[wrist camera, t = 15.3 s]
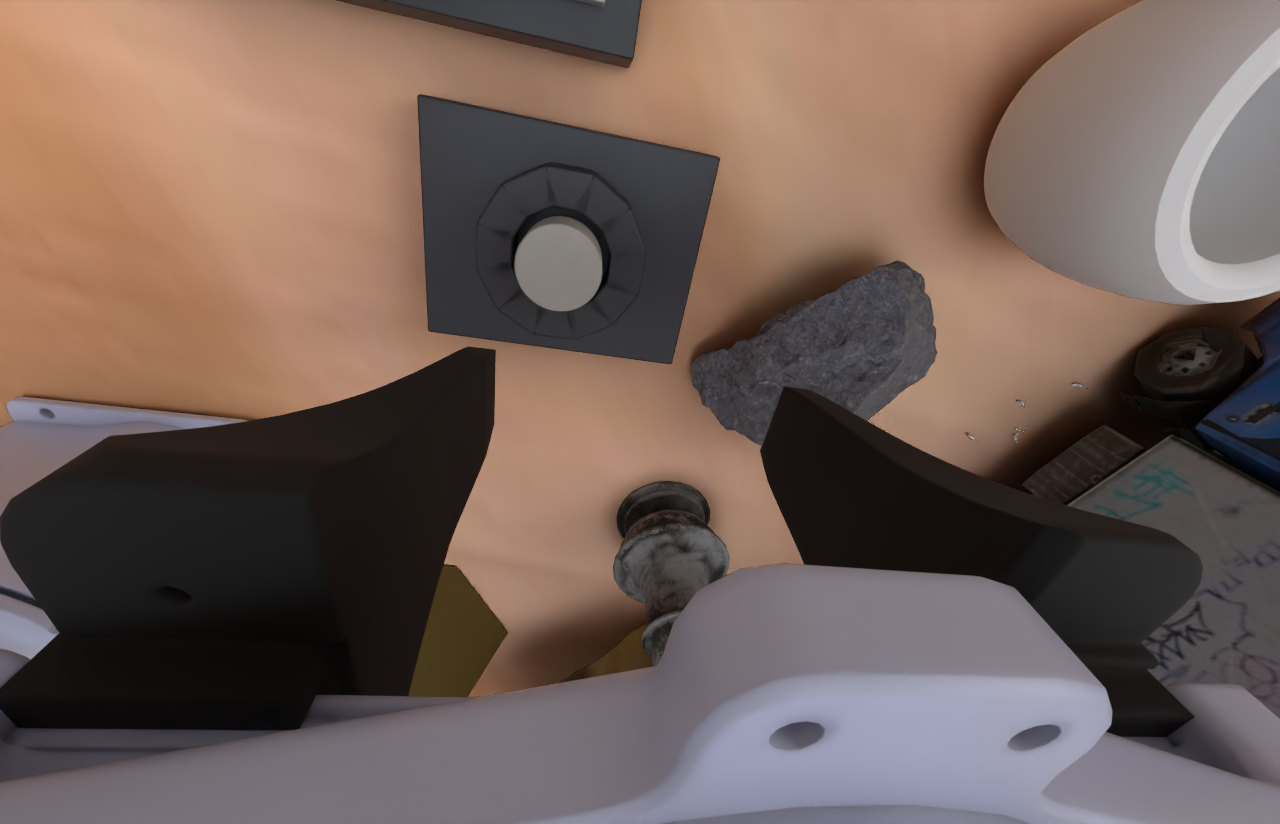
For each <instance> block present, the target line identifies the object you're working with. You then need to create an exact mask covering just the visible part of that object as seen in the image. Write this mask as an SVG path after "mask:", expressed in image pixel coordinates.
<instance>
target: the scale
mask: <svg viewBox="0 0 1280 824" xmlns="http://www.w3.org/2000/svg"><path fill="white" fill-rule="evenodd" d="M337 1H341V2H345V3H350V4H354V5H358V6H363V7H367V8H371V9H375V10H380V11H384V12H388V13H393V14H397V15H401V16H406V17H410V18H414V19H419V20H423V21H427V22H431V23H436V24H440V25H444V26H449V27H453V28H457V29H462V30H466V31H470V32H474V33H479V34H483V35H487V36H492V37H496V38H500V39H505V40H509V41H513V42H518V43H522V44H526V45H530V46H535V47H539V48H543V49H548V50H552V51H556V52H561V53H565V54H569V55H574V56H578V57H582V58H586V59H591V60H595V61H599V62H604V63H608V64H612V65H617V66H621V67H625V68H629V66H630V64H631V62H632V60H633V58H634V51H635V44H636V37H637V30H638V23H639V16H640V9H641V1H642V0H337Z"/></svg>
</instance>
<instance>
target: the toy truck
mask: <svg viewBox="0 0 1280 824" xmlns="http://www.w3.org/2000/svg"><path fill="white" fill-rule="evenodd" d="M1240 328H1242V329H1244V330H1246V331H1249V332H1251V333H1253V334H1254V336H1255V339H1256V341H1257V343H1258V346H1259V348H1260V351H1261V353H1262V356H1261V357H1260V358H1259V359H1257V358H1256V356H1255V355H1254V354H1253V353H1252V352H1251V350H1250V349H1249V348H1248V347H1247V346H1246V344H1245V343H1244V342H1243V341H1242V340H1241V338H1240V337H1239V336H1238V335H1237V334H1236V332H1235V331H1234V330H1232V329H1224V328H1215V327H1207V326H1199V327H1193V328H1186V329H1180V330H1174V331H1169V332H1167V333H1166V334H1164V335H1163V336H1161V337H1160V338H1158V339H1156V340H1155V341H1153V342H1152V343H1150V344H1149V345H1147V346H1145V347H1144V348H1142V349H1141V350H1139V351H1138V354H1137V360H1136V365H1135V371H1134V376H1135V377H1136V378H1137V379H1138V380H1139V381H1140V383H1141V384H1142V385H1143V386H1144V387H1145V388H1146V390H1147V391H1149V392H1150V393H1152V394H1153V395H1155V396H1156V397H1157V398H1159V399H1160V400H1156V399H1152V398H1147V397H1143V396H1138V395H1136V396H1135V397H1134V398H1133V399H1132V398H1131V397H1129V396H1127V395H1125V394H1123V393H1121V392H1120V393H1121V394H1122V395H1123V396H1124V398H1125V401H1126V402H1127V403H1129V404H1130V405H1132V406H1133V407H1135V408H1137V409H1138V410H1140V411H1141V412H1145V413H1146V414H1150V415H1154V416H1158V417H1162V418H1167V419H1171V420H1175V421H1179V422H1183V423H1188V424H1186V425H1185V426H1184V427H1182V428H1179V429H1166V430H1164V431H1161V432H1159V434H1160V435H1161V436H1162V437H1163V438H1164V440H1162V441H1161V442H1160V443H1158V444H1157V445H1155V446H1154V447H1152V448H1151V449H1149V450H1148V451H1147V450H1146V449H1145V448H1144V447H1142V446H1140V445H1139V444H1137V443H1135V442H1134V441H1132V440H1130V439H1128V438H1127V437H1125V436H1123V435H1122V434H1120V433H1118V432H1117V431H1115V430H1113V429H1111V428H1110V427H1108V426H1106V425H1105V424H1104V425H1103V426H1101V427H1099V428H1098V429H1096V430H1094V431H1093V432H1091V433H1089V434H1088V435H1086V436H1084V437H1083V438H1082V439H1080V440H1079V441H1078V442H1076V443H1075V444H1073V445H1072V446H1071V447H1069V448H1068V449H1067V450H1065V451H1064V452H1063V453H1061V454H1060V455H1059V456H1057V457H1056V458H1055V459H1053V460H1052V461H1050V462H1049V463H1048V464H1046V465H1045V466H1043V467H1042V468H1041V469H1039V470H1038V471H1036V472H1035V473H1034V474H1033V475H1032V476H1031V477H1030V478H1028V479H1027V480H1026V481H1025V482H1024V483H1023V484H1022V485H1023V486H1024V487H1025V488H1027V489H1028V490H1029V491H1030V492H1031V493H1033V494H1034V495H1035V496H1037V497H1040V498H1044V499H1047V500H1050V501H1054V502H1057V503H1060V504H1063V505H1067V506H1070V507H1073V508H1077V509H1080V510H1084V511H1088V512H1092V513H1096V514H1100V515H1104V516H1108V517H1112V518H1116V519H1120V520H1124V521H1128V522H1132V523H1136V524H1140V525H1144V526H1148V527H1152V528H1155V529H1158V530H1160V531H1163V532H1166V533H1168V534H1170V535H1172V536H1174V537H1175V538H1177V539H1178V540H1179V541H1181V542H1182V543H1183V544H1185V545H1186V546H1187V547H1189V548H1190V549H1191V550H1193V551H1194V552H1195V553H1197V554H1198V555H1199V557H1200V559H1201V562H1202V565H1203V573H1202V578H1201V583H1200V585H1199V586H1198V588H1197V590H1196V591H1195V593H1194V594H1193V596H1192V597H1191V598H1190V599H1189V600H1188V601H1187V602H1186V603H1185V604H1184V605H1183V606H1182V607H1181V608H1180V609H1179V610H1178V611H1177V612H1176V613H1175V614H1174V615H1172V616H1171V617H1170V618H1169V619H1168V620H1167V621H1166V622H1164V623H1163V624H1162V625H1161V626H1160V627H1159V628H1158V629H1156V630H1155V631H1154V632H1153V633H1152V634H1151V635H1150V636H1148V637H1147V638H1146V639H1145V640H1144V641H1143V642H1142V643H1141V644H1142V645H1143V646H1144V647H1145V648H1147V649H1148V650H1149V651H1150V652H1151V653H1152V654H1153V655H1154V656H1155V657H1156V658H1157V659H1158V664H1159V665H1158V666H1157V667H1155V668H1154V669H1147V670H1148V671H1149V672H1150V673H1151V674H1152V675H1153V676H1154V677H1155V678H1156V679H1157V680H1158V681H1159V682H1160V683H1161V684H1162V685H1163V686H1164V687H1165V688H1167V687H1170V686H1173V685H1176V684H1179V683H1186V682H1197V683H1232V684H1236V685H1240V686H1242V687H1244V688H1245V689H1246V690H1247V691H1248V692H1249V693H1250V694H1252V695H1253V696H1254V697H1255V698H1256V699H1257V700H1258V701H1260V702H1261V703H1262V704H1263V705H1264V706H1265V707H1267V708H1268V709H1269V710H1270V711H1271V712H1272V713H1273V714H1275V715H1276V716H1277V717H1278V718H1279V719H1280V298H1279V299H1277V300H1276V301H1275V302H1273V303H1272V304H1270V305H1269V306H1268V307H1266V308H1265V309H1264V310H1262V311H1261V312H1259V313H1258V314H1257V315H1255V316H1254V317H1252V318H1251V319H1250V320H1248V321H1247V322H1246V323H1244V324H1243V325H1241V326H1240ZM1136 397H1137V398H1136ZM1137 399H1138V400H1137ZM1161 400H1162V401H1161ZM1139 407H1140V408H1141V409H1140V408H1139ZM1142 408H1143V409H1142ZM1143 410H1144V411H1143Z"/></svg>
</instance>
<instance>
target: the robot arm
mask: <svg viewBox="0 0 1280 824" xmlns="http://www.w3.org/2000/svg"><path fill="white" fill-rule="evenodd" d="M495 357H496V350H492V349H484V348H476V347H466V348H463V349H461V350H459V351H457V352H455V353H453V354H451V355H449V356H447V357H445V358H443V359H441V360H439V361H437V362H435V363H433V364H431V365H429V366H427V367H425V368H423V369H421V370H419V371H417V372H415V373H412V374H410V375H408V376H406V377H403V378H401V379H399V380H396V381H394V382H392V383H389V384H387V385H385V386H382V387H380V388H377V389H375V390H372V391H369V392H366V393H363V394H360V395H357V396H354V397H351V398H348V399H345V400H341V401H338V402H334V403H331V404H327V405H323V406H318V407H314V408H310V409H306V410H302V411H297V412H293V413H289V414H285V415H280V416H274V417H269V418H263V419H258V420H252V421H248V420H244V419H234V418H225V417H215V416H205V415H195V414H186V413H176V412H166V411H157V410H147V409H137V408H128V407H118V406H108V405H98V404H89V403H79V402H69V401H60V400H50V399H40V398H31V397H16V398H14V399H12V400H10V401H8V402H7V403H6V409H7V411H8V413H9V414H10V416H11V418H12V420H13V422H11V423H9V424H7V425H5V426H3V427H1V428H0V824H1280V719H1279V718H1278V717H1277V716H1276V715H1275V714H1273V713H1272V712H1271V711H1270V710H1269V709H1268V708H1267V707H1265V706H1264V705H1263V704H1262V703H1261V702H1260V701H1258V700H1257V699H1256V698H1255V697H1254V696H1253V695H1252V694H1250V693H1249V692H1248V691H1247V690H1246V689H1245V688H1244V687H1242V686H1240V685H1236V684H1232V683H1197V682H1186V683H1179V684H1176V685H1173V686H1170V687H1167V688H1165V687H1164V686H1163V685H1162V684H1161V683H1160V682H1159V681H1158V680H1157V679H1156V678H1155V677H1154V676H1153V675H1152V674H1151V673H1150V672H1149V671H1148V670H1147V669H1154V668H1155V667H1157V666H1158V665H1159V664H1158V659H1157V658H1156V657H1155V656H1154V655H1153V654H1152V653H1151V652H1150V651H1149V650H1148V649H1147V648H1145V647H1144V646H1143V645H1142V644H1141V643H1142V642H1143V641H1144V640H1145V639H1146V638H1147V637H1148V636H1150V635H1151V634H1152V633H1153V632H1154V631H1155V630H1156V629H1158V628H1159V627H1160V626H1161V625H1162V624H1163V623H1164V622H1166V621H1167V620H1168V619H1169V618H1170V617H1171V616H1172V615H1174V614H1175V613H1176V612H1177V611H1178V610H1179V609H1180V608H1181V607H1182V606H1183V605H1184V604H1185V603H1186V602H1187V601H1188V600H1189V599H1190V598H1191V597H1192V596H1193V594H1194V593H1195V591H1196V590H1197V588H1198V586H1199V585H1200V583H1201V578H1202V573H1203V565H1202V562H1201V559H1200V557H1199V555H1198V554H1197V553H1195V552H1194V551H1193V550H1191V549H1190V548H1189V547H1187V546H1186V545H1185V544H1183V543H1182V542H1181V541H1179V540H1178V539H1177V538H1175V537H1174V536H1172V535H1170V534H1168V533H1166V532H1163V531H1160V530H1158V529H1155V528H1152V527H1148V526H1144V525H1140V524H1136V523H1132V522H1128V521H1124V520H1120V519H1116V518H1112V517H1108V516H1104V515H1100V514H1096V513H1092V512H1088V511H1084V510H1080V509H1077V508H1073V507H1070V506H1067V505H1063V504H1060V503H1057V502H1054V501H1050V500H1047V499H1044V498H1040V497H1037V496H1034V495H1031V494H1028V493H1025V492H1022V491H1019V490H1016V489H1013V488H1010V487H1008V486H1005V485H1002V484H1000V483H997V482H994V481H992V480H989V479H986V478H983V477H981V476H978V475H976V474H973V473H971V472H968V471H966V470H963V469H961V468H959V467H956V466H954V465H952V464H950V463H947V462H945V461H943V460H941V459H938V458H936V457H934V456H932V455H930V454H928V453H926V452H923V451H921V450H919V449H917V448H915V447H913V446H912V445H910V444H908V443H906V442H904V441H902V440H900V439H898V438H896V437H894V436H893V435H891V434H889V433H887V432H885V431H884V430H882V429H880V428H878V427H876V426H875V425H873V424H871V423H869V422H868V421H866V420H864V419H863V418H861V417H859V416H857V415H856V414H854V413H852V412H851V411H849V410H847V409H845V408H844V407H842V406H840V405H838V404H837V403H835V402H833V401H831V400H829V399H827V398H826V397H824V396H822V395H820V394H818V393H815V392H813V391H811V390H808V389H803V388H795V387H787V386H784V387H783V390H782V393H781V395H780V398H779V401H778V404H777V406H776V409H775V412H774V414H773V417H772V420H771V423H770V425H769V428H768V431H767V434H766V436H765V439H764V442H763V445H762V447H761V450H760V452H761V457H762V461H763V465H764V469H765V473H766V476H767V479H768V483H769V485H770V488H771V490H772V492H773V495H774V497H775V499H776V501H777V504H778V506H779V508H780V510H781V513H782V515H783V517H784V519H785V521H786V524H787V526H788V528H789V530H790V532H791V535H792V537H793V539H794V541H795V543H796V546H797V548H798V550H799V552H800V555H801V557H802V560H803V562H804V565H802V564H786V563H783V564H775V565H767V566H758V567H750V568H742V569H738V570H736V571H734V572H732V573H730V574H728V575H726V576H725V577H723V578H721V579H719V580H717V581H715V582H713V583H711V584H709V585H707V586H705V587H703V588H701V589H700V590H699V591H698V592H696V594H695V595H694V596H693V598H692V599H691V600H690V602H689V603H688V604H687V606H686V607H685V608H684V610H683V611H682V612H681V614H680V615H679V616H678V617H677V619H676V620H675V621H674V623H673V626H672V629H671V632H670V635H669V638H668V641H667V644H666V647H665V650H664V653H663V656H662V657H661V659H660V661H659V663H658V665H657V666H654V667H648V668H642V669H637V670H631V671H625V672H620V673H614V674H608V675H603V676H597V677H591V678H586V679H580V680H574V681H569V682H563V683H557V684H552V685H546V686H540V687H534V688H529V689H523V690H517V691H512V692H506V693H500V694H495V695H489V696H483V697H478V698H472V697H417V696H408V695H409V691H410V686H411V682H412V678H413V675H414V671H415V667H416V663H417V659H418V655H419V651H420V648H421V644H422V640H423V636H424V632H425V628H426V625H427V621H428V617H429V614H430V610H431V607H432V603H433V599H434V596H435V592H436V589H437V585H438V581H439V578H440V575H441V571H442V568H443V564H444V561H445V558H446V554H447V551H448V547H449V544H450V542H451V539H452V536H453V533H454V531H455V528H456V526H457V523H458V521H459V519H460V516H461V514H462V512H463V509H464V507H465V505H466V502H467V500H468V498H469V495H470V493H471V491H472V488H473V486H474V484H475V481H476V479H477V476H478V474H479V472H480V469H481V467H482V464H483V462H484V459H485V457H486V454H487V450H488V446H489V442H490V438H491V434H492V430H493V426H494V406H495Z"/></svg>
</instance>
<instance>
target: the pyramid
mask: <svg viewBox="0 0 1280 824" xmlns="http://www.w3.org/2000/svg"><path fill="white" fill-rule="evenodd" d="M506 634H507V631H506V630H505V629H504V627H503V626H502V625H501V624H500V622H499V621H498V620H497V618H496V617H495V616H494V615H493V613H492V612H491V611H490V610H489V608H488V607H487V606H486V604H485V603H484V602H483V601H482V599H481V598H480V597H479V595H478V594H477V593H476V592H475V590H474V589H473V588H472V587H471V585H470V584H469V583H468V581H467V580H466V579H465V578H464V576H463V575H462V574H461V572H460V571H459V570H458V569H457V567H451V566H443V568H442V571H441V575H440V578H439V581H438V585H437V589H436V592H435V596H434V599H433V603H432V607H431V610H430V614H429V617H428V621H427V625H426V628H425V632H424V636H423V640H422V644H421V648H420V651H419V655H418V659H417V663H416V667H415V671H414V675H413V678H412V682H411V686H410V691H409V695H408V696H417V697H468V695H469V694H470V692H471V690H472V689H473V687H474V686H475V684H476V682H477V681H478V679H479V678H480V676H481V674H482V673H483V671H484V670H485V668H486V666H487V665H488V663H489V662H490V660H491V658H492V657H493V655H494V654H495V652H496V650H497V649H498V647H499V646H500V644H501V642H502V641H503V639H504V638H505V636H506Z"/></svg>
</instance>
